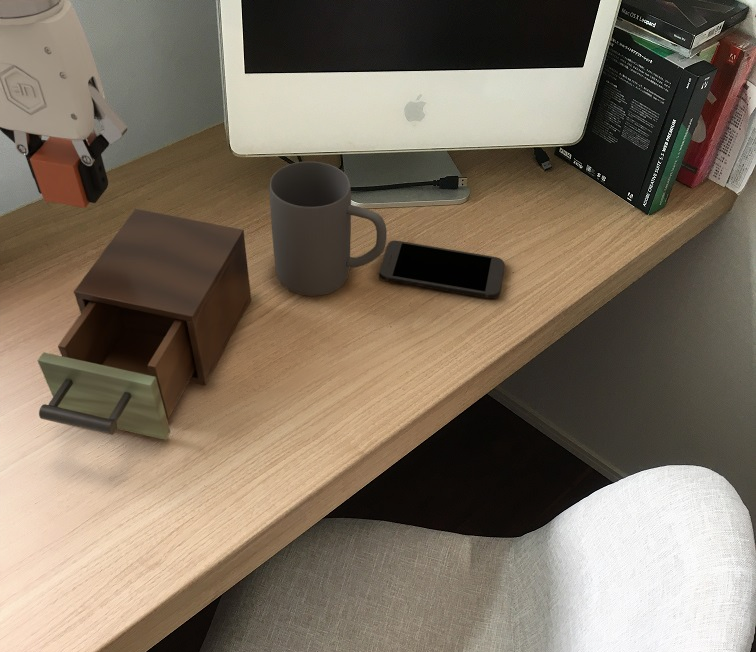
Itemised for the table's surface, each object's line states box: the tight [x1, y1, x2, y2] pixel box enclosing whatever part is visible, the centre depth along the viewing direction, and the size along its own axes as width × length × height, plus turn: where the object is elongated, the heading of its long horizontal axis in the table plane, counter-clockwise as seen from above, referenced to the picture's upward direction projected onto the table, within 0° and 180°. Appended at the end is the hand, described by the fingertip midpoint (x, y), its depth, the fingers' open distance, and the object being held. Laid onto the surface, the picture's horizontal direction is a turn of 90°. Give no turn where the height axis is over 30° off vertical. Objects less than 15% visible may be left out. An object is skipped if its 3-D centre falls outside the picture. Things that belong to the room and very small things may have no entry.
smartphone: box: [378, 240, 506, 299], centre depth 97 cm, size 7×15×1 cm, turn 79°
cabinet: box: [73, 208, 252, 386], centre depth 85 cm, size 15×13×10 cm
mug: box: [269, 161, 388, 297], centre depth 91 cm, size 14×9×12 cm
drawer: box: [37, 301, 196, 441], centre depth 78 cm, size 18×11×8 cm, turn 166°
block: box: [30, 137, 91, 209], centre depth 76 cm, size 4×4×4 cm
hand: (73, 189), depth 78 cm, fingers closed on block, 4 cm apart
